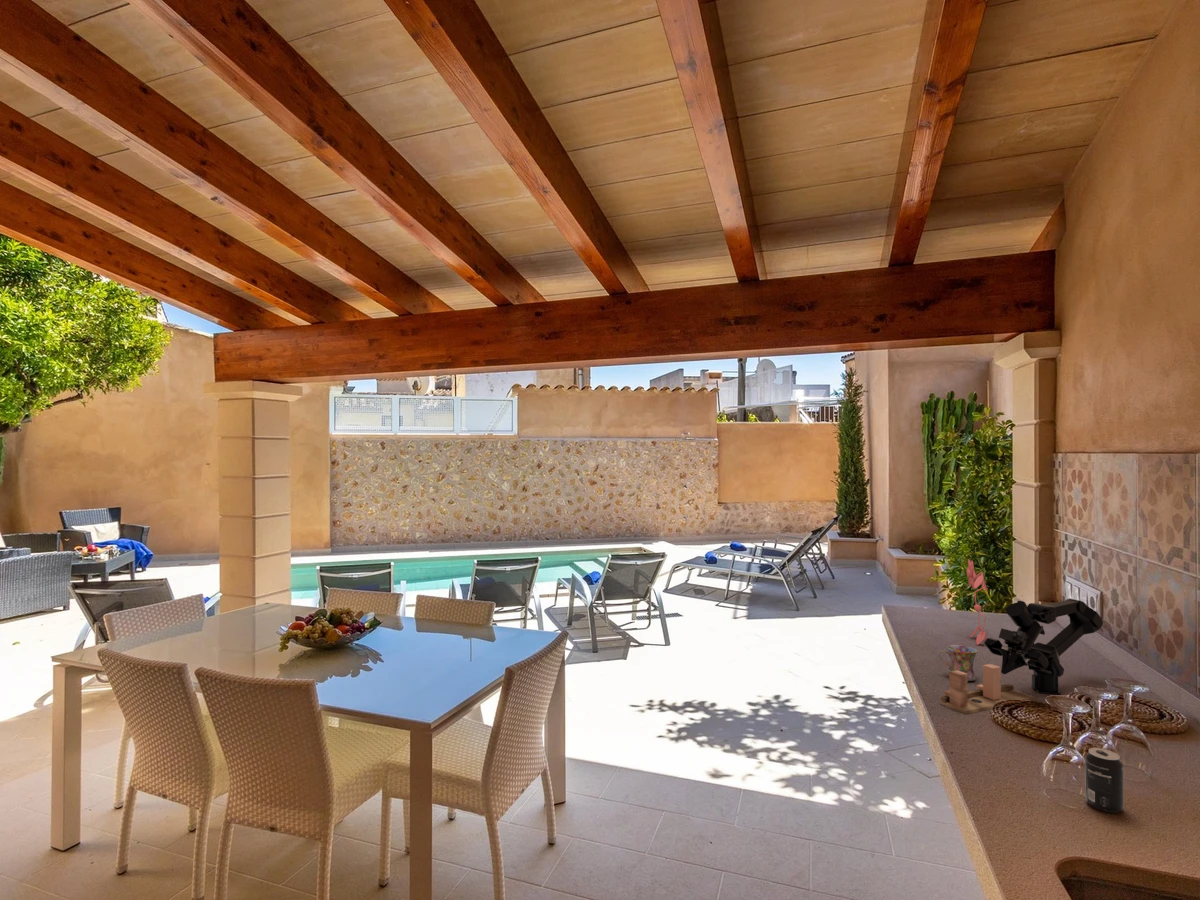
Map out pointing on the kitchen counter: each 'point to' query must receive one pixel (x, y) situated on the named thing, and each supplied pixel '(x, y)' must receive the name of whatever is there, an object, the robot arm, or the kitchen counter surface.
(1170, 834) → the kitchen counter surface
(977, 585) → the figurine
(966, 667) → the mug
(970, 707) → the trammel board
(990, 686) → the block
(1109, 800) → the beverage can
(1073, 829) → the kitchen counter surface
